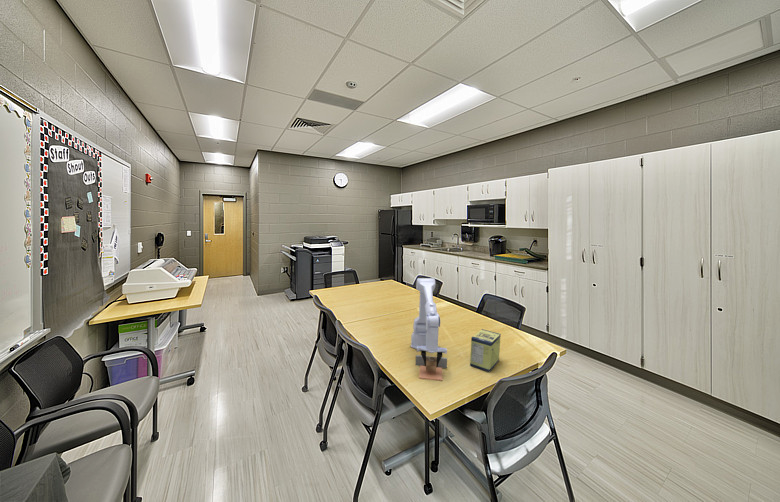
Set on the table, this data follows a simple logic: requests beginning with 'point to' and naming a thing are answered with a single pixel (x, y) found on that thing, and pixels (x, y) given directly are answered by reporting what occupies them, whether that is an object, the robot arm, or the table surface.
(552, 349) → the table surface
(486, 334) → the protein box
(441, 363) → the slate screen
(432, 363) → the walnut cube
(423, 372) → the terracotta tile
